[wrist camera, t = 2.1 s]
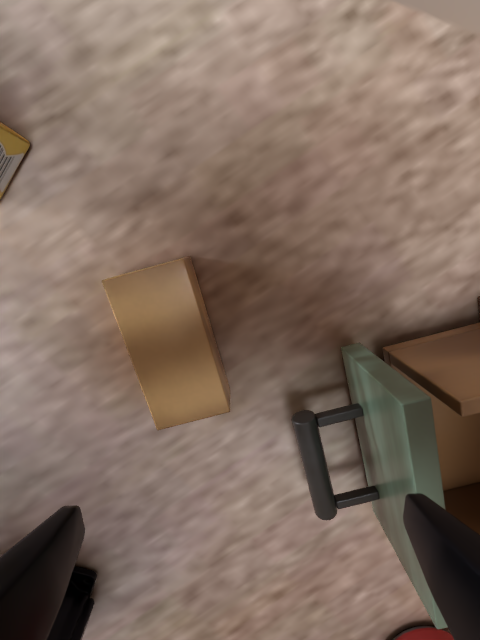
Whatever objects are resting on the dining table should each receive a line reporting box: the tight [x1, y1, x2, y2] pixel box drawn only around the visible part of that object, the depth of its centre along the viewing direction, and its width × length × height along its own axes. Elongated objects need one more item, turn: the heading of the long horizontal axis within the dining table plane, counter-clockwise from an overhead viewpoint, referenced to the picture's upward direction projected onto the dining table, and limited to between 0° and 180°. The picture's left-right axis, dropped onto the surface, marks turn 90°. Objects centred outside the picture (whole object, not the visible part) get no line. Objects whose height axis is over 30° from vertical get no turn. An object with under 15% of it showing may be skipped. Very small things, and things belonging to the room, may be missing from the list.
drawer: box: [292, 322, 480, 630], centre depth 17 cm, size 18×13×7 cm
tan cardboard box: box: [102, 256, 230, 430], centre depth 19 cm, size 9×4×3 cm, turn 15°
